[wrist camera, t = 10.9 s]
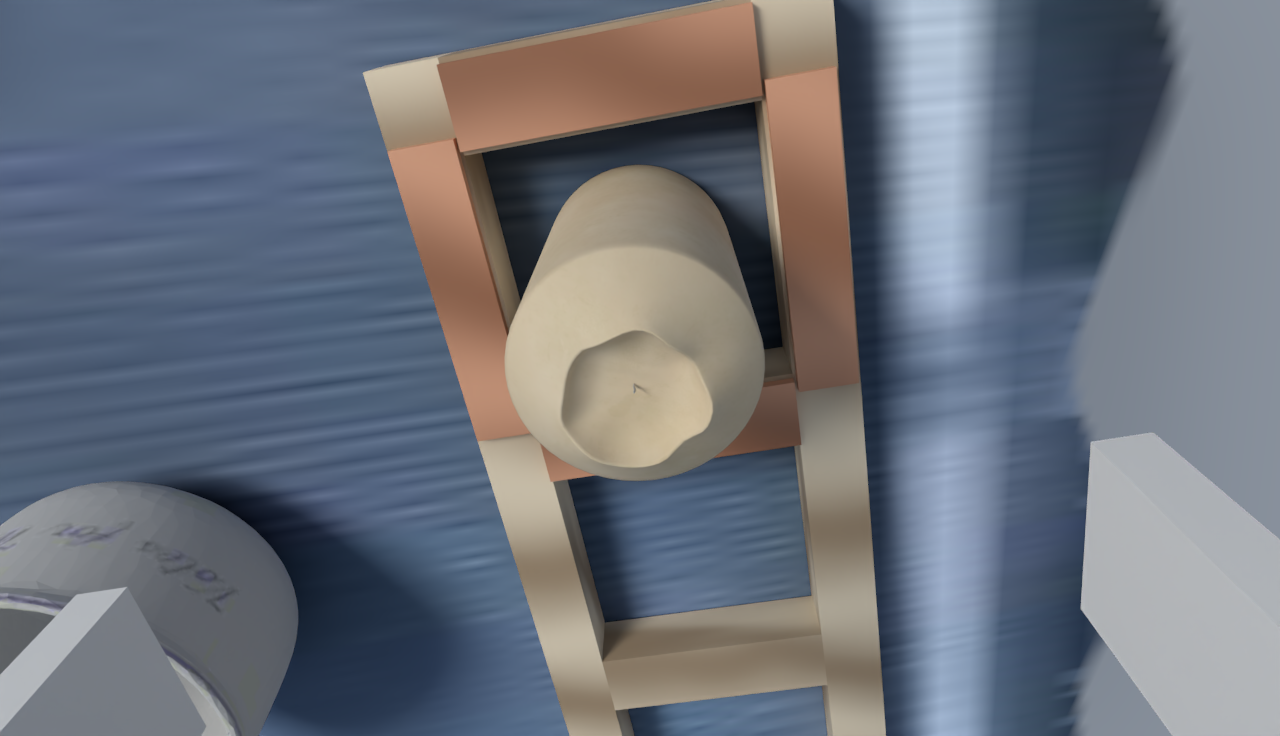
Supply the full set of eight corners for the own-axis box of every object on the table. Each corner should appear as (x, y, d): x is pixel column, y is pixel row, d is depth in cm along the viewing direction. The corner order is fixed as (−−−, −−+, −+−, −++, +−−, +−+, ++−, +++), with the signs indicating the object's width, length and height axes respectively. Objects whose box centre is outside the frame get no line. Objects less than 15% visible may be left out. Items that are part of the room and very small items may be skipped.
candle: (570, 141, 23) (518, 237, 14) (752, 187, 24) (814, 307, 15) (535, 313, 25) (471, 490, 16) (702, 351, 26) (728, 543, 17)
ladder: (882, 813, 36) (896, 865, 34) (618, 841, 37) (616, 893, 35) (816, -21, 21) (834, -21, 19) (386, 65, 22) (358, 73, 20)
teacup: (323, 457, 28) (210, 620, 21) (341, 682, 33) (253, 880, 25) (-83, 418, 28) (-345, 571, 20) (-7, 652, 32) (-197, 844, 25)
